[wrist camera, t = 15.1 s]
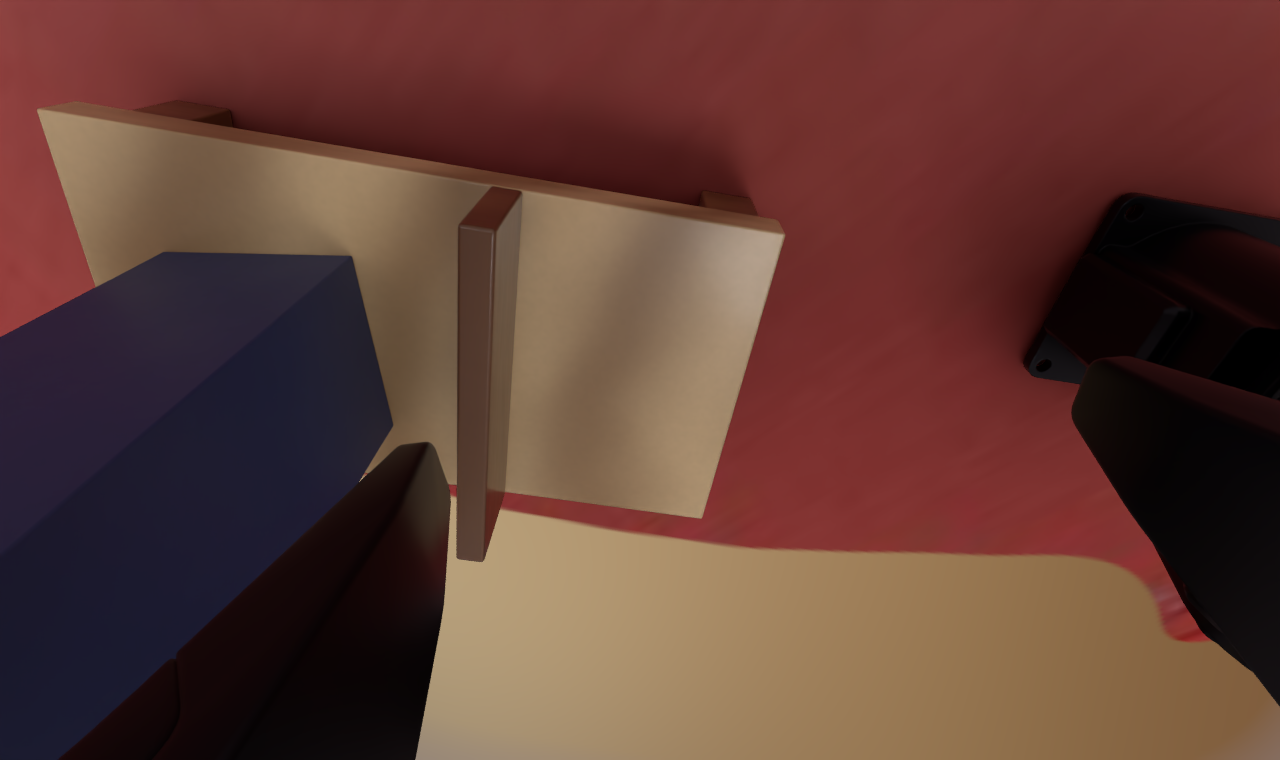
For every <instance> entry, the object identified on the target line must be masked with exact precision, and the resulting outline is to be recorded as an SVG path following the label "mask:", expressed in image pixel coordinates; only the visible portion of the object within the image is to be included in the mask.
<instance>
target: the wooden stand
mask: <svg viewBox="0 0 1280 760" xmlns="http://www.w3.org/2000/svg"><path fill="white" fill-rule="evenodd" d="M37 112H38V115H39V118H40V121H41V124H42V127H43V130H44V133H45V136H46V139H47V142H48V145H49V148H50V151H51V154H52V157H53V160H54V163H55V166H56V169H57V172H58V175H59V178H60V181H61V184H62V187H63V190H64V193H65V196H66V199H67V202H68V205H69V208H70V211H71V214H72V217H73V220H74V223H75V226H76V229H77V232H78V235H79V238H80V241H81V244H82V247H83V250H84V253H85V256H86V259H87V262H88V265H89V268H90V271H91V274H92V277H93V280H94V283H95V286H96V287H97V286H99V285H101V284H103V283H105V282H107V281H109V280H111V279H113V278H114V277H116V276H118V275H120V274H122V273H124V272H126V271H128V270H130V269H132V268H134V267H136V266H137V265H139V264H141V263H143V262H145V261H147V260H149V259H151V258H153V257H155V256H157V255H158V254H160V253H162V252H193V253H241V254H288V255H336V256H352V259H353V263H354V267H355V271H356V275H357V279H358V283H359V288H360V292H361V296H362V300H363V304H364V308H365V312H366V316H367V320H368V324H369V328H370V332H371V336H372V340H373V344H374V348H375V352H376V357H377V361H378V365H379V369H380V373H381V377H382V381H383V385H384V389H385V393H386V397H387V401H388V405H389V409H390V413H391V417H392V421H393V427H392V429H391V431H390V432H389V434H388V435H387V437H386V439H385V440H384V442H383V444H382V445H381V447H380V448H379V450H378V452H377V453H376V455H375V457H374V458H373V460H372V461H371V463H370V465H369V466H368V468H367V470H366V471H365V473H370V472H371V471H372V470H373V469H374V468H375V467H376V466H377V465H378V464H379V463H380V462H381V461H382V460H383V459H385V458H386V457H387V456H388V455H389V454H390V453H391V452H392V451H393V450H394V449H395V448H397V447H398V446H400V445H403V444H409V443H417V442H430V443H432V444H433V446H434V447H435V449H436V451H437V454H438V457H439V460H440V463H441V465H442V468H443V471H444V474H445V477H446V480H447V483H448V484H452V485H457V558H458V559H461V560H469V561H476V562H483V560H484V559H485V556H486V552H487V549H488V546H489V543H490V539H491V536H492V533H493V529H494V526H495V523H496V520H497V517H498V514H499V510H500V507H501V504H502V501H503V497H504V494H505V492H510V493H518V494H525V495H532V496H540V497H547V498H554V499H561V500H569V501H576V502H583V503H591V504H598V505H605V506H612V507H620V508H627V509H634V510H642V511H649V512H656V513H663V514H671V515H678V516H685V517H693V518H700V519H701V518H702V516H703V513H704V510H705V506H706V503H707V499H708V496H709V493H710V489H711V486H712V482H713V479H714V476H715V472H716V469H717V465H718V462H719V459H720V455H721V452H722V448H723V445H724V442H725V438H726V435H727V431H728V428H729V425H730V421H731V418H732V414H733V411H734V408H735V404H736V401H737V398H738V394H739V391H740V387H741V384H742V381H743V377H744V374H745V370H746V367H747V364H748V360H749V357H750V353H751V350H752V347H753V343H754V340H755V336H756V333H757V330H758V326H759V323H760V319H761V316H762V313H763V309H764V306H765V302H766V299H767V296H768V292H769V289H770V286H771V282H772V279H773V275H774V272H775V269H776V265H777V262H778V258H779V255H780V252H781V248H782V245H783V241H784V238H785V233H784V231H783V229H782V227H781V225H780V223H779V221H778V220H776V219H770V218H764V217H759V215H758V213H757V211H756V209H755V206H754V204H753V202H752V200H751V199H750V198H745V197H739V196H733V195H727V194H721V193H716V192H710V191H702V194H701V198H700V203H699V206H693V205H687V204H681V203H675V202H669V201H664V200H658V199H652V198H646V197H640V196H634V195H628V194H622V193H616V192H610V191H604V190H598V189H593V188H587V187H581V186H575V185H569V184H563V183H557V182H551V181H545V180H539V179H533V178H527V177H521V176H516V175H510V174H504V173H498V172H492V171H486V170H480V169H474V168H468V167H462V166H456V165H450V164H445V163H439V162H433V161H427V160H421V159H415V158H409V157H403V156H397V155H391V154H385V153H379V152H374V151H368V150H362V149H356V148H350V147H344V146H338V145H332V144H326V143H320V142H314V141H308V140H302V139H297V138H291V137H285V136H279V135H273V134H267V133H261V132H255V131H249V130H243V129H237V128H233V124H232V119H231V113H230V110H228V109H224V108H218V107H212V106H206V105H201V104H195V103H189V102H183V101H177V100H176V101H171V102H167V103H162V104H158V105H153V106H149V107H144V108H140V109H135V110H125V109H119V108H113V107H107V106H101V105H95V104H89V103H83V102H78V101H75V102H70V103H64V104H59V105H54V106H48V107H43V108H38V109H37Z"/></svg>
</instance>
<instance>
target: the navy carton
mask: <svg viewBox="0 0 1280 760" xmlns="http://www.w3.org/2000/svg"><path fill="white" fill-rule="evenodd" d="M392 427H393V421H392V417H391V413H390V409H389V405H388V401H387V397H386V393H385V389H384V385H383V381H382V377H381V373H380V369H379V365H378V361H377V357H376V352H375V348H374V344H373V340H372V336H371V332H370V328H369V324H368V320H367V316H366V312H365V308H364V304H363V300H362V296H361V292H360V288H359V283H358V279H357V275H356V271H355V267H354V263H353V259H352V256H336V255H288V254H241V253H193V252H162V253H160V254H158V255H157V256H155V257H153V258H151V259H149V260H147V261H145V262H143V263H141V264H139V265H137V266H136V267H134V268H132V269H130V270H128V271H126V272H124V273H122V274H120V275H118V276H116V277H114V278H113V279H111V280H109V281H107V282H105V283H103V284H101V285H99V286H97V287H95V288H93V289H92V290H90V291H88V292H86V293H84V294H82V295H80V296H78V297H76V298H74V299H72V300H71V301H69V302H67V303H65V304H63V305H61V306H59V307H57V308H55V309H53V310H51V311H49V312H48V313H46V314H44V315H42V316H40V317H38V318H36V319H34V320H32V321H30V322H28V323H27V324H25V325H23V326H21V327H19V328H17V329H15V330H13V331H11V332H9V333H7V334H5V335H4V336H2V337H0V760H58V759H59V758H60V757H61V756H62V755H63V754H65V753H66V752H67V751H68V750H69V749H70V748H72V747H73V746H74V745H75V744H76V743H77V742H79V741H80V740H81V739H82V738H83V737H84V736H85V735H87V734H88V733H89V732H90V731H91V730H92V729H93V728H94V727H95V726H97V725H98V724H99V723H100V722H101V721H102V720H103V719H104V718H105V717H107V716H108V715H109V714H110V713H111V712H112V711H113V710H114V709H115V708H116V707H118V706H119V705H120V704H121V703H122V702H123V701H124V700H125V699H126V698H128V697H129V696H130V695H131V694H132V693H133V692H134V691H135V690H136V689H137V688H139V687H140V686H141V685H142V684H143V683H144V682H145V681H146V680H147V679H148V678H149V677H150V676H151V675H153V674H154V673H155V672H156V671H157V670H158V669H159V668H160V667H161V666H162V665H163V664H164V663H165V662H166V661H168V660H169V659H172V658H173V659H176V653H177V652H178V651H179V650H180V649H181V648H182V647H183V646H184V645H185V644H186V643H187V642H188V641H189V640H190V639H191V638H193V637H194V636H195V635H196V634H197V633H198V632H199V631H200V630H201V629H202V628H203V627H204V626H205V625H206V624H208V623H209V622H210V621H211V620H212V619H213V618H214V617H215V616H216V615H217V614H218V613H219V612H220V611H222V610H223V609H224V608H225V607H226V606H227V605H228V604H229V603H230V602H231V601H232V600H233V599H234V598H235V597H237V596H238V595H239V594H240V593H241V592H242V591H243V590H244V589H245V588H246V587H247V586H248V585H249V584H250V583H252V582H253V581H254V580H255V579H256V578H257V577H258V576H259V575H260V574H261V573H262V572H263V571H264V570H265V569H267V568H268V567H269V566H270V565H271V564H272V563H273V562H274V561H275V560H276V559H277V558H278V557H279V556H280V555H282V554H283V553H284V552H285V551H286V550H287V549H288V548H289V547H290V546H291V545H292V544H293V543H294V542H296V541H297V540H298V539H299V538H300V537H301V536H302V535H303V534H304V533H305V532H306V531H307V530H308V529H309V528H311V527H312V526H313V525H314V524H315V523H316V522H317V521H318V520H319V519H320V518H321V517H322V516H323V515H324V514H326V513H327V512H328V511H329V510H330V509H331V508H332V507H333V506H334V505H335V504H336V503H337V502H338V501H339V500H341V499H342V498H343V497H344V496H345V495H346V494H347V493H348V492H349V491H350V490H351V489H352V488H353V487H355V486H356V485H357V484H358V483H359V481H360V479H361V478H362V476H363V474H364V473H365V471H366V470H367V468H368V466H369V465H370V463H371V461H372V460H373V458H374V457H375V455H376V453H377V452H378V450H379V448H380V447H381V445H382V444H383V442H384V440H385V439H386V437H387V435H388V434H389V432H390V431H391V429H392Z"/></svg>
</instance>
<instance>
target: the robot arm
mask: <svg viewBox="0 0 1280 760" xmlns="http://www.w3.org/2000/svg"><path fill="white" fill-rule="evenodd" d="M1133 205H1135V209H1134V211H1133V212H1132V213H1131V214H1130V215H1128V216H1125V215H1126V212H1127V210H1128V209H1129V208H1130V207H1132V206H1133ZM1044 359H1045V361H1044V362H1043V364H1041V365H1039V366H1037V364H1038V363H1039V362H1040V361H1042V360H1044ZM1023 364H1024V367H1025V369H1026V370H1027V371H1028V372H1029V373H1030V374H1031V375H1032V376H1034V377H1037V378H1044V379H1050V380H1056V381H1063V382H1069V383H1076V384H1081V385H1080V387H1079V390H1078V392H1077V395H1076V397H1075V400H1074V402H1073V405H1072V411H1071V414H1072V419H1073V422H1074V424H1075V426H1076V428H1077V430H1078V431H1079V433H1080V434H1081V436H1082V438H1083V439H1084V441H1085V442H1086V444H1087V446H1088V447H1089V449H1090V450H1091V452H1092V453H1093V455H1094V457H1095V458H1096V460H1097V461H1098V463H1099V465H1100V466H1101V468H1102V469H1103V471H1104V473H1105V474H1106V476H1107V477H1108V479H1109V480H1110V482H1111V484H1112V485H1113V487H1114V488H1115V490H1116V492H1117V493H1118V495H1119V496H1120V498H1121V500H1122V501H1123V503H1124V504H1125V506H1126V507H1127V509H1128V510H1129V512H1130V513H1131V515H1132V516H1133V517H1134V519H1135V520H1136V521H1137V523H1138V524H1139V526H1140V527H1141V528H1142V530H1143V531H1144V532H1145V534H1146V535H1147V536H1148V537H1149V539H1150V540H1151V541H1152V543H1153V544H1154V546H1155V548H1156V550H1157V552H1158V554H1159V556H1160V558H1161V560H1162V562H1163V564H1164V566H1165V568H1166V570H1167V572H1168V574H1169V576H1170V578H1171V580H1172V582H1173V584H1174V585H1175V587H1176V589H1177V591H1178V593H1179V595H1180V597H1181V599H1182V601H1183V603H1184V604H1185V606H1186V608H1187V609H1188V611H1189V612H1190V614H1191V615H1192V617H1193V618H1194V619H1195V621H1196V623H1197V625H1198V627H1199V628H1200V630H1201V631H1202V632H1203V633H1204V634H1205V635H1206V636H1207V637H1208V638H1210V639H1211V640H1212V641H1214V642H1216V643H1217V644H1219V645H1220V646H1221V647H1222V648H1223V649H1224V650H1225V651H1226V652H1228V653H1229V654H1230V655H1231V656H1232V657H1234V658H1235V659H1236V660H1238V661H1239V662H1240V663H1241V664H1242V665H1244V666H1245V667H1246V668H1248V669H1249V670H1251V671H1252V672H1253V673H1254V674H1255V675H1256V677H1257V678H1258V679H1259V680H1260V682H1261V683H1262V684H1263V686H1264V687H1265V688H1266V689H1267V691H1268V692H1269V693H1270V694H1271V696H1272V697H1273V699H1274V700H1275V701H1276V702H1277V704H1278V705H1279V706H1280V218H1274V217H1269V216H1263V215H1258V214H1252V213H1246V212H1241V211H1235V210H1230V209H1224V208H1218V207H1213V206H1207V205H1202V204H1196V203H1190V202H1185V201H1179V200H1173V199H1168V198H1162V197H1157V196H1151V195H1145V194H1140V193H1128V194H1125V195H1122V196H1121V197H1119V198H1118V199H1117V200H1115V202H1114V203H1113V204H1112V206H1111V207H1110V209H1109V211H1108V212H1107V214H1106V216H1105V218H1104V219H1103V221H1102V223H1101V225H1100V226H1099V228H1098V230H1097V232H1096V233H1095V235H1094V237H1093V239H1092V241H1091V242H1090V244H1089V246H1088V248H1087V249H1086V251H1085V253H1084V255H1083V256H1082V258H1081V259H1080V261H1079V262H1078V264H1077V266H1076V268H1075V269H1074V271H1073V273H1072V275H1071V276H1070V278H1069V280H1068V282H1067V283H1066V285H1065V287H1064V289H1063V290H1062V292H1061V294H1060V296H1059V298H1058V299H1057V301H1056V303H1055V305H1054V306H1053V308H1052V310H1051V312H1050V313H1049V315H1048V317H1047V319H1046V320H1045V322H1044V325H1043V327H1042V328H1041V330H1040V332H1039V334H1038V335H1037V337H1036V339H1035V341H1034V342H1033V344H1032V346H1031V348H1030V349H1029V351H1028V353H1027V355H1026V356H1025V359H1024V361H1023ZM450 505H451V501H450V490H449V486H448V483H447V480H446V477H445V474H444V471H443V468H442V465H441V463H440V460H439V457H438V454H437V451H436V449H435V447H434V446H433V444H432V443H430V442H417V443H409V444H403V445H400V446H398V447H397V448H395V449H394V450H393V451H392V452H391V453H390V454H389V455H388V456H387V457H386V458H385V459H383V460H382V461H381V462H380V463H379V464H378V465H377V466H376V467H375V468H374V469H373V470H372V471H371V472H370V473H368V474H367V475H366V476H365V477H364V478H363V479H362V480H361V481H360V482H359V483H358V484H357V485H356V486H355V487H353V488H352V489H351V490H350V491H349V492H348V493H347V494H346V495H345V496H344V497H343V498H342V499H341V500H339V501H338V502H337V503H336V504H335V505H334V506H333V507H332V508H331V509H330V510H329V511H328V512H327V513H326V514H324V515H323V516H322V517H321V518H320V519H319V520H318V521H317V522H316V523H315V524H314V525H313V526H312V527H311V528H309V529H308V530H307V531H306V532H305V533H304V534H303V535H302V536H301V537H300V538H299V539H298V540H297V541H296V542H294V543H293V544H292V545H291V546H290V547H289V548H288V549H287V550H286V551H285V552H284V553H283V554H282V555H280V556H279V557H278V558H277V559H276V560H275V561H274V562H273V563H272V564H271V565H270V566H269V567H268V568H267V569H265V570H264V571H263V572H262V573H261V574H260V575H259V576H258V577H257V578H256V579H255V580H254V581H253V582H252V583H250V584H249V585H248V586H247V587H246V588H245V589H244V590H243V591H242V592H241V593H240V594H239V595H238V596H237V597H235V598H234V599H233V600H232V601H231V602H230V603H229V604H228V605H227V606H226V607H225V608H224V609H223V610H222V611H220V612H219V613H218V614H217V615H216V616H215V617H214V618H213V619H212V620H211V621H210V622H209V623H208V624H206V625H205V626H204V627H203V628H202V629H201V630H200V631H199V632H198V633H197V634H196V635H195V636H194V637H193V638H191V639H190V640H189V641H188V642H187V643H186V644H185V645H184V646H183V647H182V648H181V649H180V650H179V651H178V652H177V653H176V659H173V658H172V659H169V660H168V661H166V662H165V663H164V664H163V665H162V666H161V667H160V668H159V669H158V670H157V671H156V672H155V673H154V674H153V675H151V676H150V677H149V678H148V679H147V680H146V681H145V682H144V683H143V684H142V685H141V686H140V687H139V688H137V689H136V690H135V691H134V692H133V693H132V694H131V695H130V696H129V697H128V698H126V699H125V700H124V701H123V702H122V703H121V704H120V705H119V706H118V707H116V708H115V709H114V710H113V711H112V712H111V713H110V714H109V715H108V716H107V717H105V718H104V719H103V720H102V721H101V722H100V723H99V724H98V725H97V726H95V727H94V728H93V729H92V730H91V731H90V732H89V733H88V734H87V735H85V736H84V737H83V738H82V739H81V740H80V741H79V742H77V743H76V744H75V745H74V746H73V747H72V748H70V749H69V750H68V751H67V752H66V753H65V754H63V755H62V756H61V757H60V758H59V759H58V760H415V758H416V753H417V748H418V742H419V737H420V732H421V727H422V721H423V716H424V711H425V705H426V700H427V694H428V689H429V683H430V679H431V673H432V668H433V662H434V657H435V652H436V646H437V641H438V636H439V631H440V625H441V619H442V613H443V606H444V595H445V580H446V566H447V565H446V564H447V551H448V535H449V520H450Z"/></svg>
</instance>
